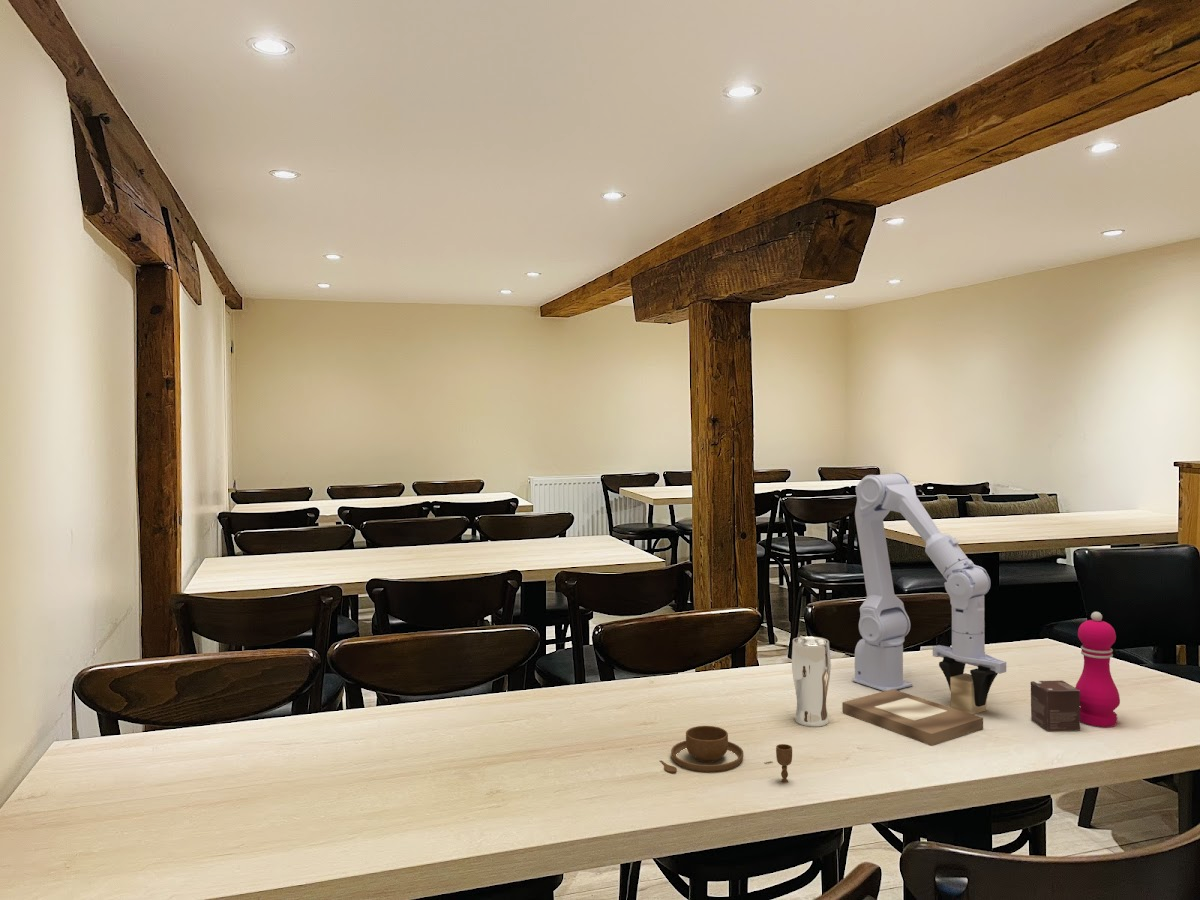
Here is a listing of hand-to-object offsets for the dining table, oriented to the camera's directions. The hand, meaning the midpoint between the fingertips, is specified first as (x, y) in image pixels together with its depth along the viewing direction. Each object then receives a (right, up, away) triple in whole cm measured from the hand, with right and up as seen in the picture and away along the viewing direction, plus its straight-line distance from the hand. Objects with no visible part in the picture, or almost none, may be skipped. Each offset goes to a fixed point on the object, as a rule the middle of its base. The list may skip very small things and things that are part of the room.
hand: (968, 701), depth 164 cm
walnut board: (-13, -2, -5) cm, 14 cm away
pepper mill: (+20, -2, -8) cm, 21 cm away
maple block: (0, -1, 0) cm, 1 cm away
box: (+12, -2, -9) cm, 15 cm away
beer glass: (-31, -2, -5) cm, 31 cm away
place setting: (-51, -4, -25) cm, 57 cm away
